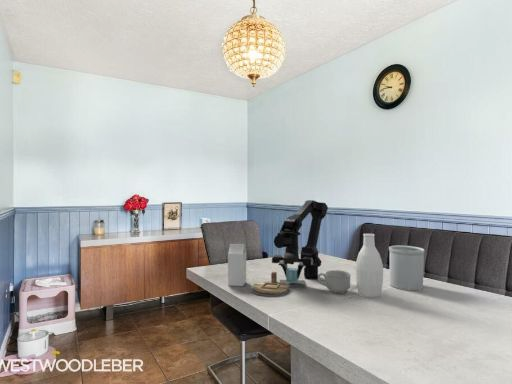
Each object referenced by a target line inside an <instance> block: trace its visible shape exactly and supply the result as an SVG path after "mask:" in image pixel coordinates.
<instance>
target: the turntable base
mask: <svg viewBox="0 0 512 384" xmlns="http://www.w3.org/2000/svg"><path fill="white" fill-rule="evenodd" d="M290 290H291V288H288V291H286V292H283V293H279V294H263V293H258V292H255V291H254V290H253V289H252V287H251V290H250V292H251V293H252V294H254V295H256V296H261V297H280V296H281V297H282V296H285V295H288V294H289V293H290Z"/></svg>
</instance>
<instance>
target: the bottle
mask: <svg viewBox="0 0 512 384" xmlns="http://www.w3.org/2000/svg"><path fill="white" fill-rule="evenodd" d="M362 243H363V245H362V247H361V248H360V251H358V254H357V258H356V261H355V281H356V287H357V288H356V289H357V293H358V294H359V295H360V296H361V297H364V298H373V299H374V298H378V297H380V296H382V290H383V289H382V288H383V285H384V264H383V260H382V257H381V254H380V252H379V251H378V249H377V247H376V246H375V245H376V244H375V243H376V242H375V234H374V233H363V242H362Z"/></svg>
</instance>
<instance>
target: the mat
mask: <svg viewBox="0 0 512 384" xmlns="http://www.w3.org/2000/svg"><path fill="white" fill-rule="evenodd" d="M279 282H280V283H284V284H286V285H288V288H289V289H307V286H306V281H305V280H301V279H299V280H298V281H297V282H288V281H286V279H279Z"/></svg>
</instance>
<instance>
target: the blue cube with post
mask: <svg viewBox="0 0 512 384" xmlns="http://www.w3.org/2000/svg"><path fill="white" fill-rule="evenodd" d="M287 268H288V269H287V270H286V276H285V278H286V279H285V280H286V281H288V282H297V281H298V280H300V278H299V279H298V278H297V274H298V267H297V268H296V267H287Z"/></svg>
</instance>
